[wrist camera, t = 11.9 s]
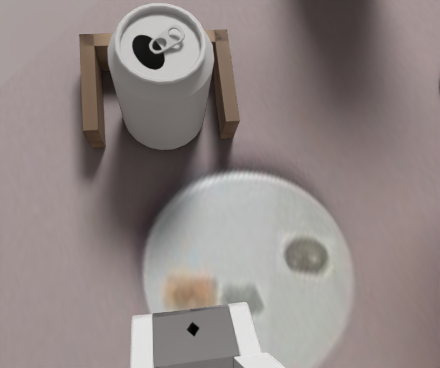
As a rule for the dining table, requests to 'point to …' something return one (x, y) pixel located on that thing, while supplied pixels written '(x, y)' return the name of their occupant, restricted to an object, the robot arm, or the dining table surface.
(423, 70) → the dining table surface
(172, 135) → the can
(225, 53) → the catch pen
